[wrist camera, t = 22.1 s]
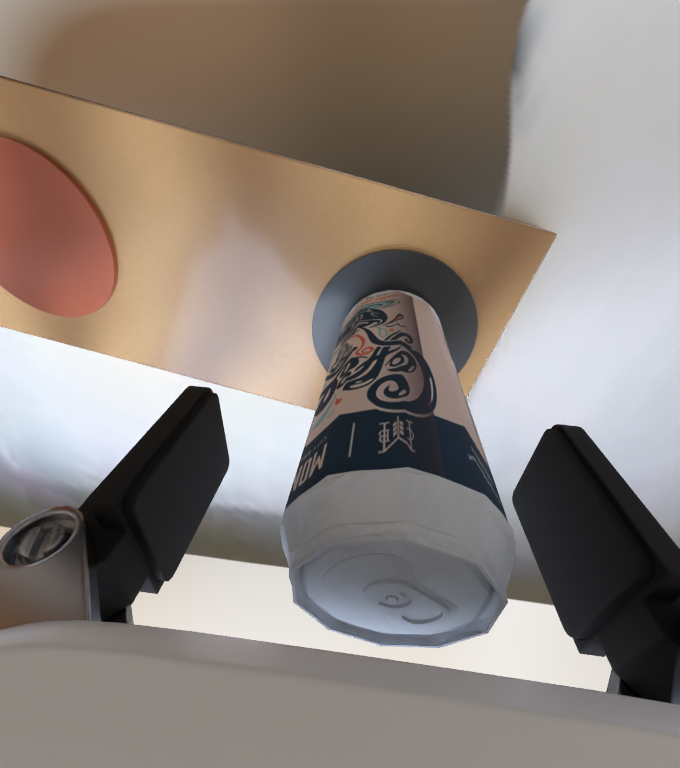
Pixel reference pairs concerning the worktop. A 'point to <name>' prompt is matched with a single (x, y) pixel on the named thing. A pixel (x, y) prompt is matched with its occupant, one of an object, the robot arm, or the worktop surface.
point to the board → (228, 249)
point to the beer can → (396, 490)
